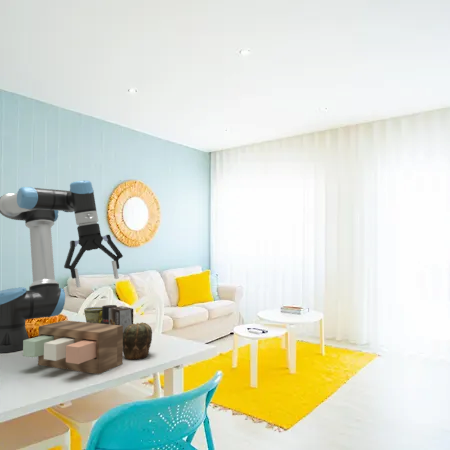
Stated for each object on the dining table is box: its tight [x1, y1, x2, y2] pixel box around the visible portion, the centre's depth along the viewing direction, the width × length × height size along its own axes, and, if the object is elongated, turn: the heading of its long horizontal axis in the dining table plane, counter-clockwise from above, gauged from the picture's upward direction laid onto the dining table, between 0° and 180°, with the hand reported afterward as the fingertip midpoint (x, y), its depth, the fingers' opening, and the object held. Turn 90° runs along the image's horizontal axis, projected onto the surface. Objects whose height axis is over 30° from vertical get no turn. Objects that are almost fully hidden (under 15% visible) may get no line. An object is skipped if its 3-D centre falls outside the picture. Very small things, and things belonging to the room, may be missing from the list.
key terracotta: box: [66, 339, 97, 364], centre depth 127 cm, size 5×9×5 cm, turn 157°
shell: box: [123, 322, 153, 361], centre depth 148 cm, size 11×11×12 cm
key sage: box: [22, 335, 54, 359], centre depth 134 cm, size 5×9×5 cm, turn 157°
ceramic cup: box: [83, 306, 102, 324], centre depth 196 cm, size 13×10×10 cm
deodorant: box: [101, 304, 118, 324], centre depth 171 cm, size 6×6×15 cm
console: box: [37, 319, 124, 375], centre depth 138 cm, size 26×12×13 cm, turn 67°
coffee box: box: [109, 305, 134, 333], centre depth 159 cm, size 9×6×16 cm
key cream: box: [44, 337, 75, 361], centre depth 130 cm, size 5×9×5 cm, turn 157°
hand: (98, 282), depth 144 cm, fingers open, 13 cm apart
